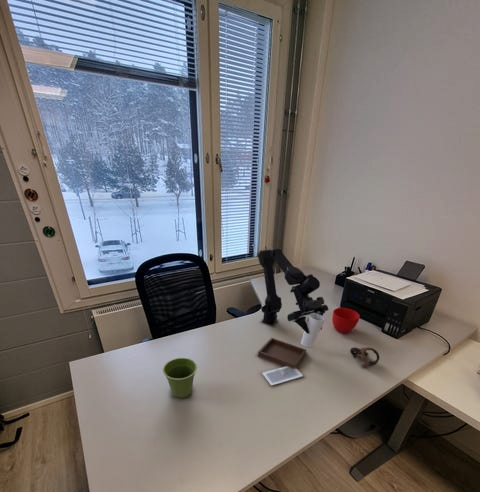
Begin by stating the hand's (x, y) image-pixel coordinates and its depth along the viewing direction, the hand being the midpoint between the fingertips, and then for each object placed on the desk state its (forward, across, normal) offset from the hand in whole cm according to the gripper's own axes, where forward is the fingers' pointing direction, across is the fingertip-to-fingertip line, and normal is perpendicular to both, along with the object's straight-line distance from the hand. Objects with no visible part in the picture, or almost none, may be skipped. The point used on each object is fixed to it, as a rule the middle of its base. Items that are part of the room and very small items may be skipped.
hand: (314, 331), depth 115 cm
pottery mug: (+18, +19, 0) cm, 27 cm away
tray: (+5, -11, +13) cm, 18 cm away
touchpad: (+14, -19, +6) cm, 24 cm away
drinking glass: (+5, -1, +7) cm, 9 cm away
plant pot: (+8, -58, +12) cm, 60 cm away
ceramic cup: (+1, +32, +18) cm, 37 cm away
